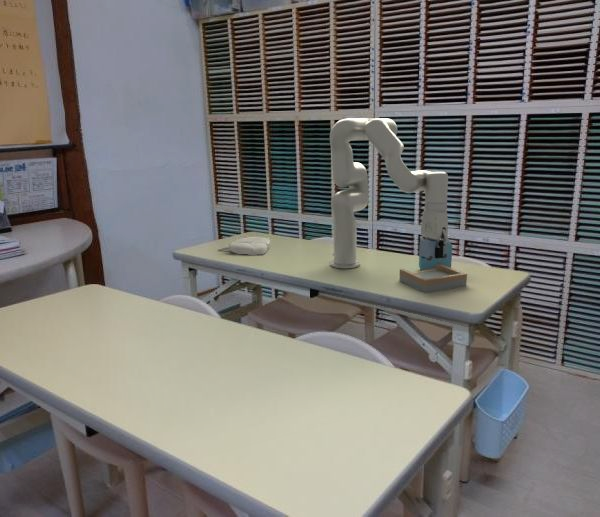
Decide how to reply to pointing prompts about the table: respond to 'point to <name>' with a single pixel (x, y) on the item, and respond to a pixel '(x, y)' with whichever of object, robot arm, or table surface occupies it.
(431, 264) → the data package
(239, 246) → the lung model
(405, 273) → the tray
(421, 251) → the grey-blue rounded box
